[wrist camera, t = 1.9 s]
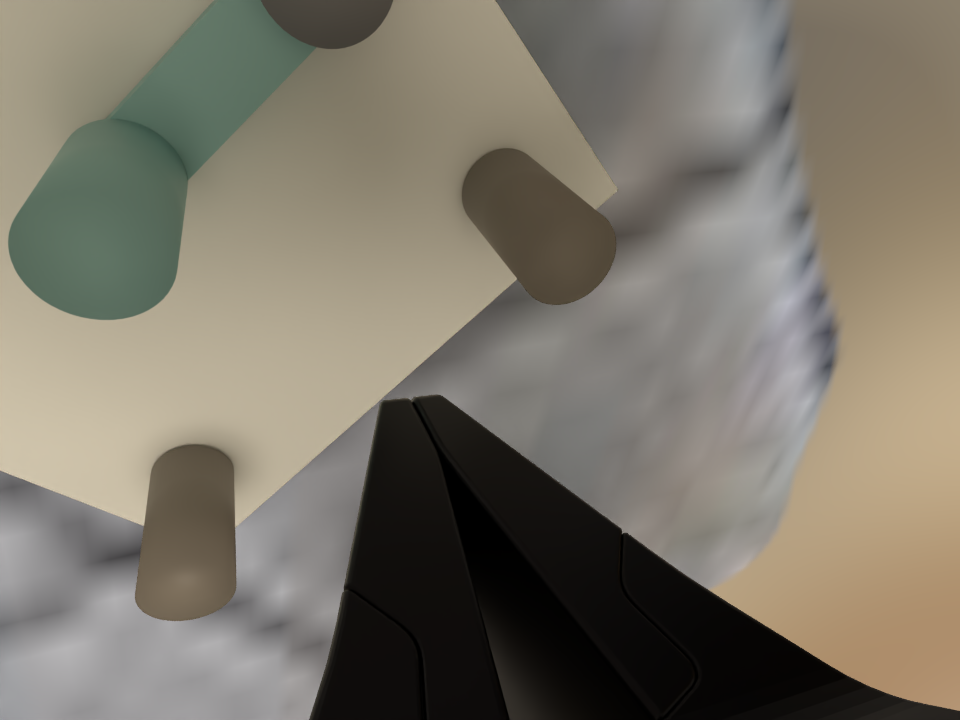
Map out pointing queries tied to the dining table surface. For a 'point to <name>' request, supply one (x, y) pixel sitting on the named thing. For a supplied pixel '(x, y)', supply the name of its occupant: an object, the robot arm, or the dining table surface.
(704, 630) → the robot arm
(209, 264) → the cream square peg board
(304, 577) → the dining table surface
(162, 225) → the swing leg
